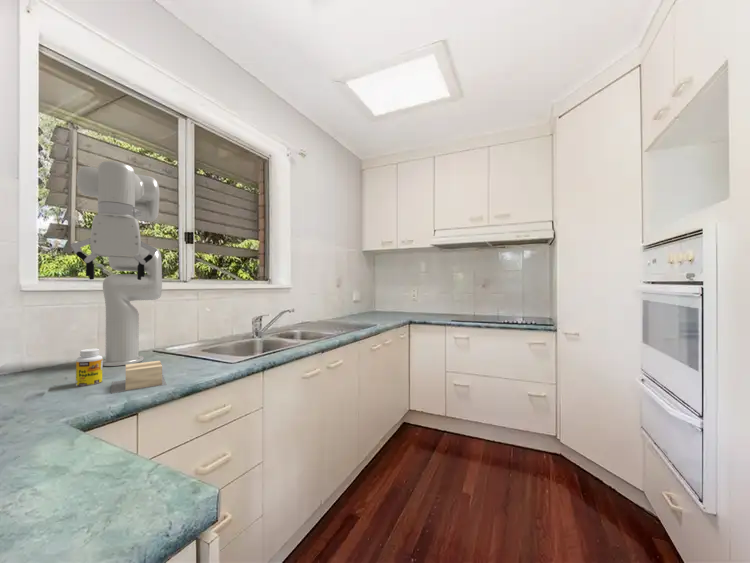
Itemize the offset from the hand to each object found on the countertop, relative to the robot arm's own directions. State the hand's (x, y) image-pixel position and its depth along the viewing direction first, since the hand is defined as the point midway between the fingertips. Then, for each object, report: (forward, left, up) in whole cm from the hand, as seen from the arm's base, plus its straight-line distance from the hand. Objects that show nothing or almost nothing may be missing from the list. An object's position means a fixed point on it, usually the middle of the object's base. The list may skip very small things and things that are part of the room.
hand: (116, 279), depth 86 cm
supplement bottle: (-13, -6, -30) cm, 33 cm away
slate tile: (-5, +5, -30) cm, 30 cm away
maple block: (-4, +6, -28) cm, 29 cm away
